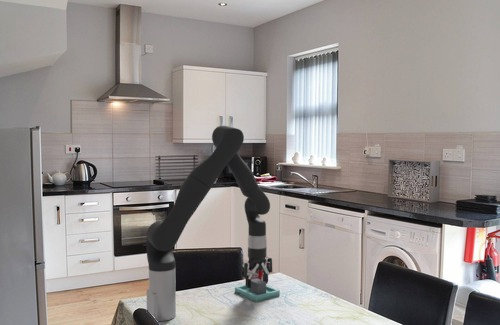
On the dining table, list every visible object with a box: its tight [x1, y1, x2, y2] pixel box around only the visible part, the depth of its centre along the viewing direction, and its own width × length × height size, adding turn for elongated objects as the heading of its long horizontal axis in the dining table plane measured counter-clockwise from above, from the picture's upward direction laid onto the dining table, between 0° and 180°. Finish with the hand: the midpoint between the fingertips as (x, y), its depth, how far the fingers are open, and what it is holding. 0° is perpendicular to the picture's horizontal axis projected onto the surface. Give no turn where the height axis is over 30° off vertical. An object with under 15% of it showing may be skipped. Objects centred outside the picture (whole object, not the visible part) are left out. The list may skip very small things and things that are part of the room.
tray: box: [234, 284, 281, 303], centre depth 181 cm, size 12×14×2 cm
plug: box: [249, 278, 267, 295], centre depth 181 cm, size 8×4×4 cm, turn 37°
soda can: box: [250, 263, 266, 281], centre depth 195 cm, size 7×7×12 cm
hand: (257, 285), depth 181 cm, fingers open, 8 cm apart
